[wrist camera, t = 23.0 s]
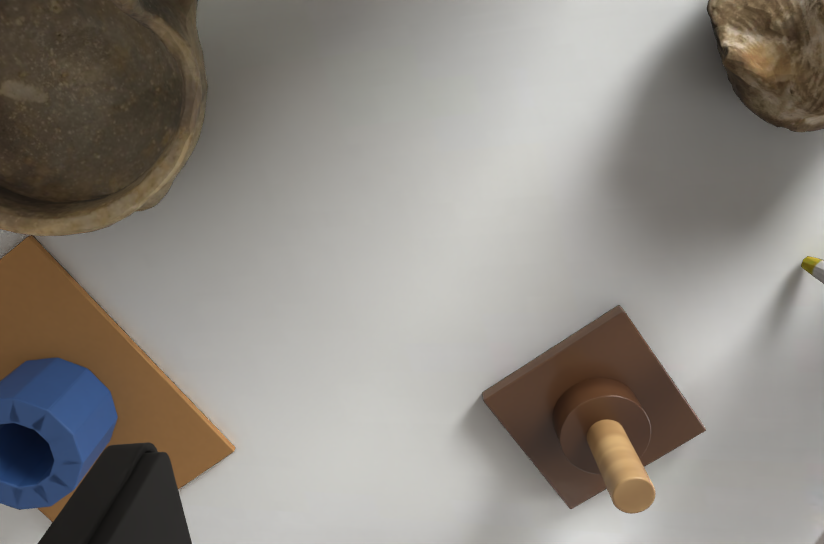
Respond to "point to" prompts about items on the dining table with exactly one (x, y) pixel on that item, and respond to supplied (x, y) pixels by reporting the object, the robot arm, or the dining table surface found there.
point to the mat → (99, 362)
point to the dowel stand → (596, 413)
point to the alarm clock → (814, 267)
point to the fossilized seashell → (774, 58)
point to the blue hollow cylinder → (50, 430)
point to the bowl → (94, 109)
